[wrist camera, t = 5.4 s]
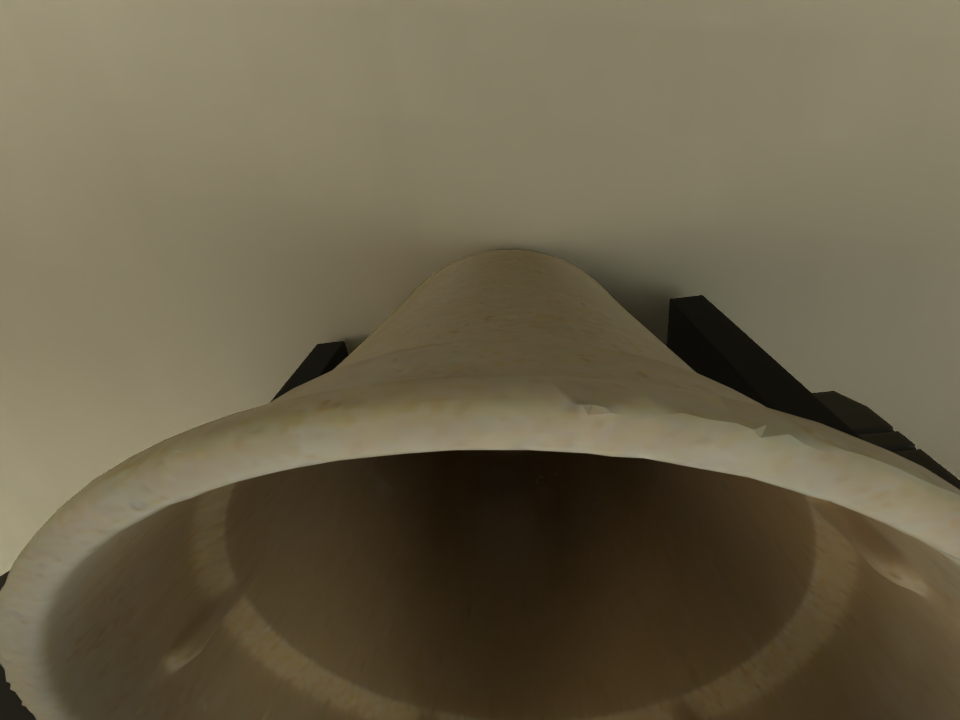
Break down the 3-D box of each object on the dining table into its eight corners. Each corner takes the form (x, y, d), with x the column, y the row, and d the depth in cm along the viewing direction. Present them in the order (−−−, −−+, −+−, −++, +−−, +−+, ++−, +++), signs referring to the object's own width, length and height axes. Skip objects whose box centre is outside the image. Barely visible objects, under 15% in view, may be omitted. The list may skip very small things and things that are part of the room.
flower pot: (429, 512, 15) (354, 911, 7) (263, 269, 11) (-285, 617, 3) (709, 437, 13) (1006, 898, 5) (636, 97, 9) (1548, -36, 1)
